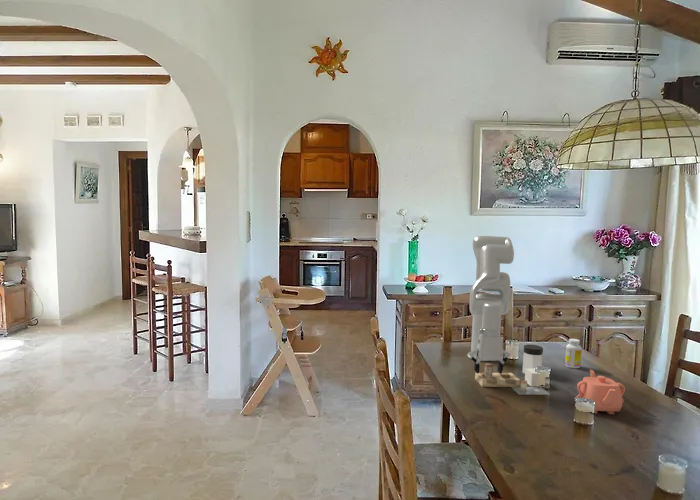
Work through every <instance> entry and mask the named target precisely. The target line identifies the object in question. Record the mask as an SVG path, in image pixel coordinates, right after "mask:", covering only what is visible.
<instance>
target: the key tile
mask: <svg viewBox="0 0 700 500" xmlns="http://www.w3.org/2000/svg"><path fill="white" fill-rule="evenodd" d="M539 387H540V386H528V383H527V381H526V380H525V379H520V387H510V388H511V389H512V390H513V391H514V392H515V393H517V394H518V395H520V396H521V395H523V396H524V395H537V396H538V395H541V396H542V395H544V396H545V395H546V396H547V395H552V394H551V393H549V392H548V391H547V390H546V389H545V388H543V387H542V388H539Z"/></svg>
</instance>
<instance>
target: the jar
mask: <svg viewBox="0 0 700 500" xmlns="http://www.w3.org/2000/svg"><path fill="white" fill-rule="evenodd" d="M543 354H544V347H542V346H541V345H537V344H524V346H523V357H522V369H521V370H522V374H524V375H525V370H526V369H534V367H537V366H541V367H542V365H543Z"/></svg>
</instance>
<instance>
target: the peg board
mask: <svg viewBox="0 0 700 500" xmlns="http://www.w3.org/2000/svg"><path fill="white" fill-rule="evenodd" d="M484 374H485V372H479V374H477V373H476V372H475V373H474V380H475V381H476V382H477V383H478V384H479V385H480V386H481V388H483V387H485V388H486V387H488V388H492V387H494V388H495V387H496V388H497V387H498V388H502V387H503V388H507V387H508V388H509V387H510V388H511V387H520V384H521V379H520V378H519V377H517V376H516V375H515V374H514V373H513V372H502V374H500V373H499V372H493V373H492V378H484Z"/></svg>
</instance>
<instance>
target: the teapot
mask: <svg viewBox="0 0 700 500" xmlns="http://www.w3.org/2000/svg"><path fill="white" fill-rule="evenodd" d="M589 372H590V373H589V374H590V376H584V377H582V380H581V381H578V382H577V385H576V389H577V391H578V394H577V395H576V398H577V397H581V398H586V399H591V400H594V402H595V414H594V415H597V414H598V412H606V413H607V414H608V413H609V414H608V415H610V414H615V415H616V413H615V412H621V410H622V407H623V404H624V398H623V395H624V394H625V392H626V387H625V385H624V384H622V383H621V382H616V381H615V380H613V379H612V378H609V377H606V376H604V375H597V376H596V374H595V371H594V370H593V369H589Z"/></svg>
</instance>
